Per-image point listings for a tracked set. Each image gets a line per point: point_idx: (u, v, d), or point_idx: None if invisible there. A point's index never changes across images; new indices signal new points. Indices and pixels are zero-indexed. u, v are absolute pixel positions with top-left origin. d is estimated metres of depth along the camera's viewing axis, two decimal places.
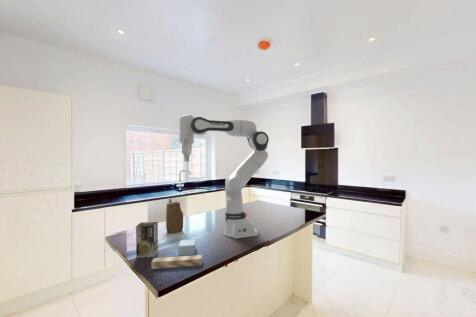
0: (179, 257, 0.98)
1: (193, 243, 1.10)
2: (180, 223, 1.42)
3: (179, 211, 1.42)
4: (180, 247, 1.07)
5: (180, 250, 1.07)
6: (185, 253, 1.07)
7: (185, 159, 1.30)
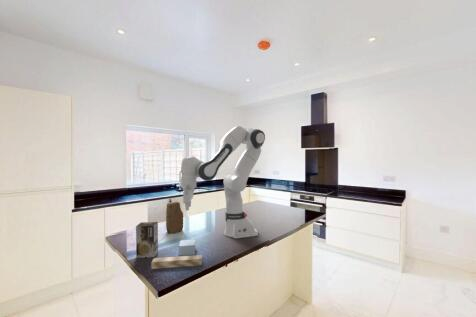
0: (179, 257, 0.98)
1: (193, 243, 1.10)
2: (180, 223, 1.42)
3: (179, 211, 1.42)
4: (180, 247, 1.07)
5: (181, 250, 1.07)
6: (185, 253, 1.07)
7: (186, 208, 1.16)
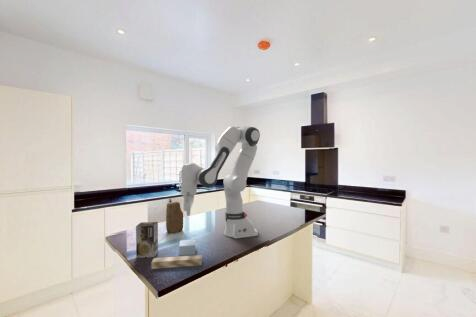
0: (179, 257, 0.98)
1: (193, 243, 1.10)
2: (180, 223, 1.42)
3: (179, 211, 1.42)
4: (181, 247, 1.07)
5: (181, 251, 1.07)
6: (186, 253, 1.07)
7: (187, 213, 1.19)
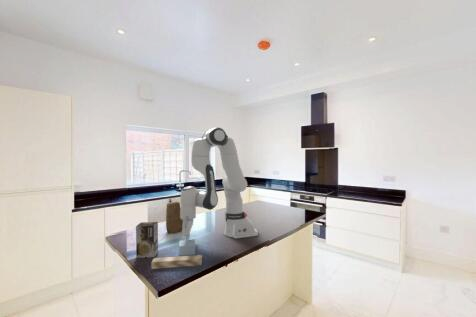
0: (179, 257, 0.98)
1: (193, 243, 1.10)
2: (180, 223, 1.42)
3: (179, 211, 1.42)
4: (181, 247, 1.07)
5: (181, 251, 1.07)
6: (186, 253, 1.07)
7: (187, 237, 1.20)
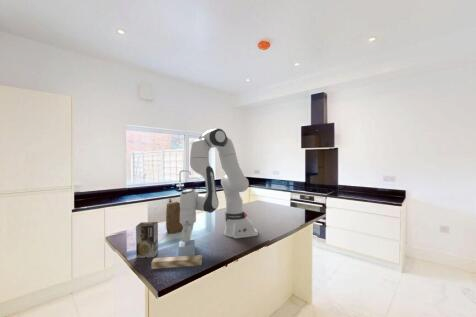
0: (179, 257, 0.98)
1: (193, 243, 1.09)
2: (180, 223, 1.42)
3: (179, 211, 1.42)
4: (180, 248, 1.06)
5: (181, 251, 1.06)
6: (185, 254, 1.06)
7: None
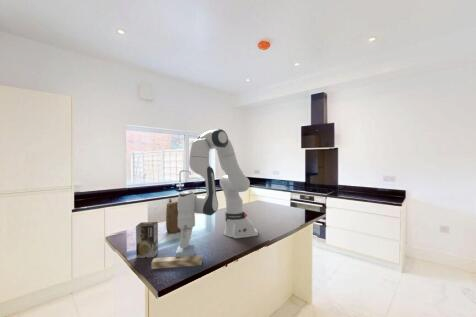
0: (179, 257, 0.98)
1: (191, 249, 1.02)
2: None
3: None
4: (177, 254, 0.99)
5: None
6: None
7: None
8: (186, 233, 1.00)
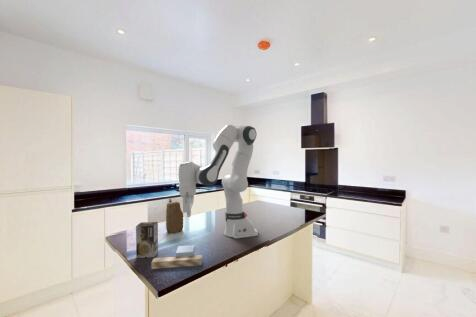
0: (179, 257, 0.98)
1: (192, 249, 1.02)
2: (180, 223, 1.42)
3: (179, 211, 1.42)
4: (177, 254, 0.99)
5: None
6: None
7: (188, 214, 1.14)
8: (188, 198, 1.07)
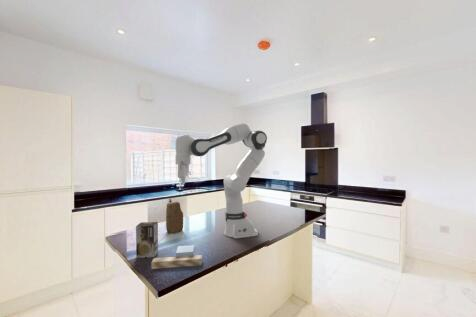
0: (179, 257, 0.98)
1: (192, 249, 1.02)
2: (180, 223, 1.42)
3: (179, 211, 1.42)
4: (177, 254, 0.99)
5: None
6: None
7: (182, 182, 1.26)
8: (183, 165, 1.18)
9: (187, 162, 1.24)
